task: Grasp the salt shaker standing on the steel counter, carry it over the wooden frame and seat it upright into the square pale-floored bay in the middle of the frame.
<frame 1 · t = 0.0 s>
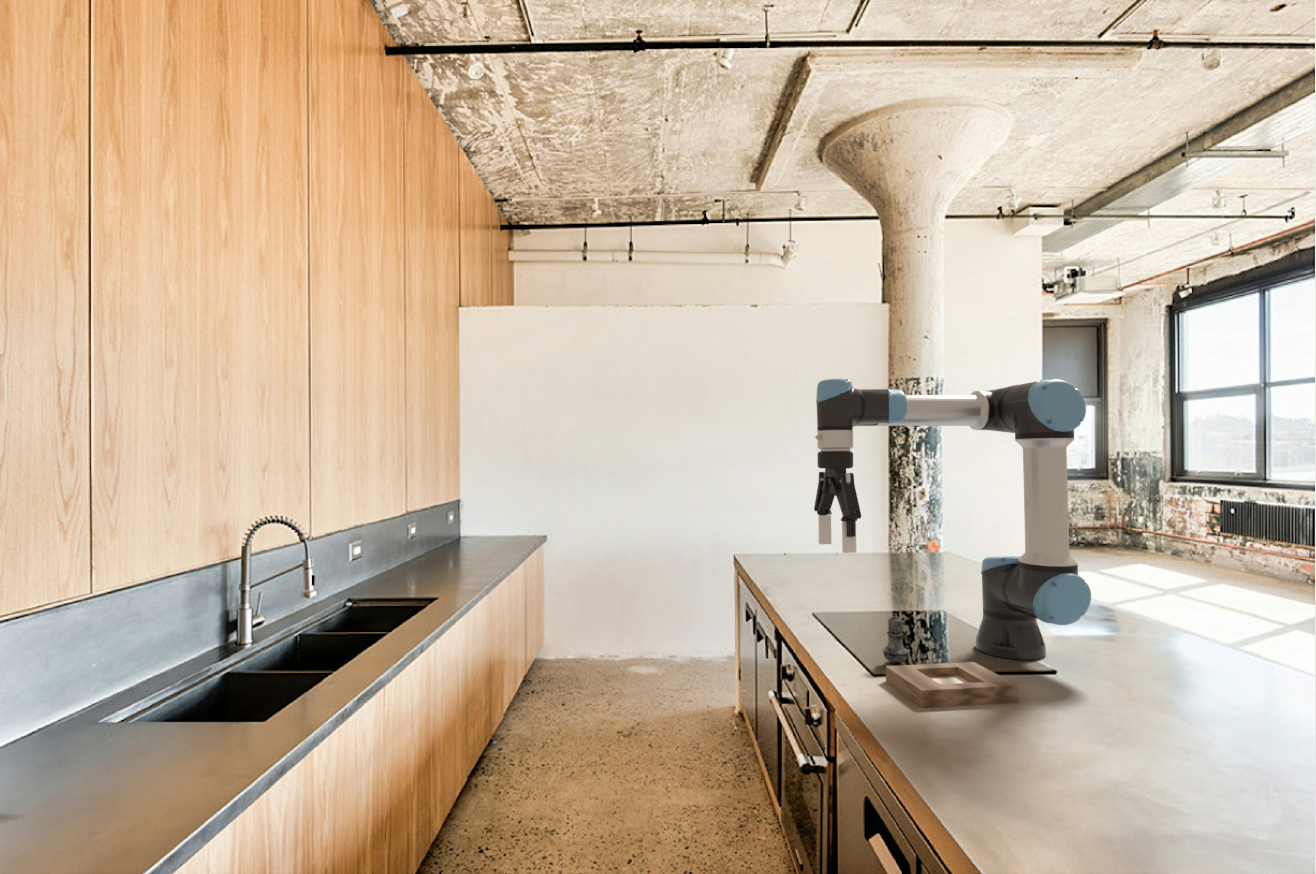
hand: (836, 548, 144), 28 cm above the countertop, fingers open, 13 cm apart
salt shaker: (895, 666, 151), on the countertop
wooden frame: (949, 691, 134), on the countertop
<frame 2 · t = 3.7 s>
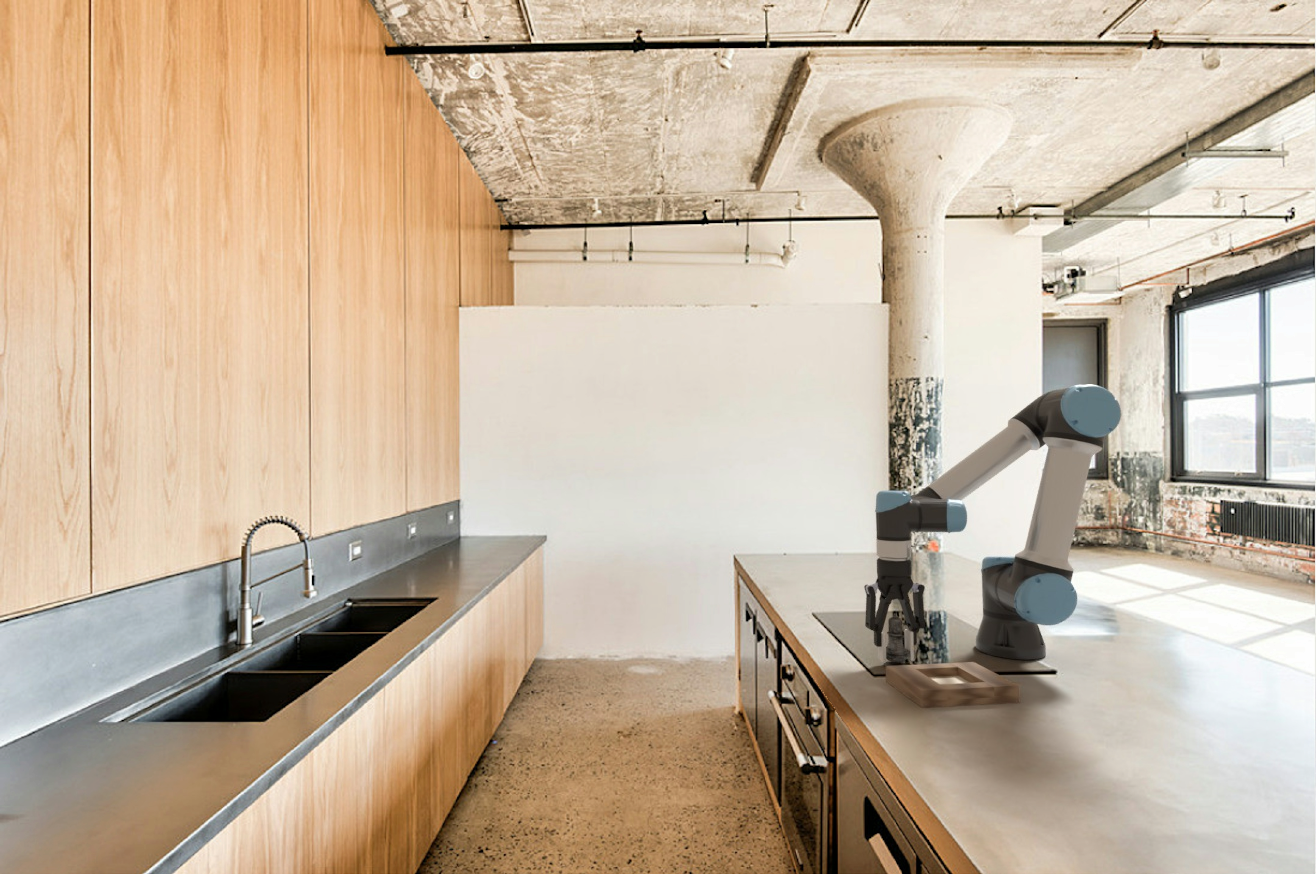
hand: (895, 659, 151), 1 cm above the countertop, fingers closed on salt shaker, 6 cm apart
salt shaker: (895, 666, 151), on the countertop, touching gripper
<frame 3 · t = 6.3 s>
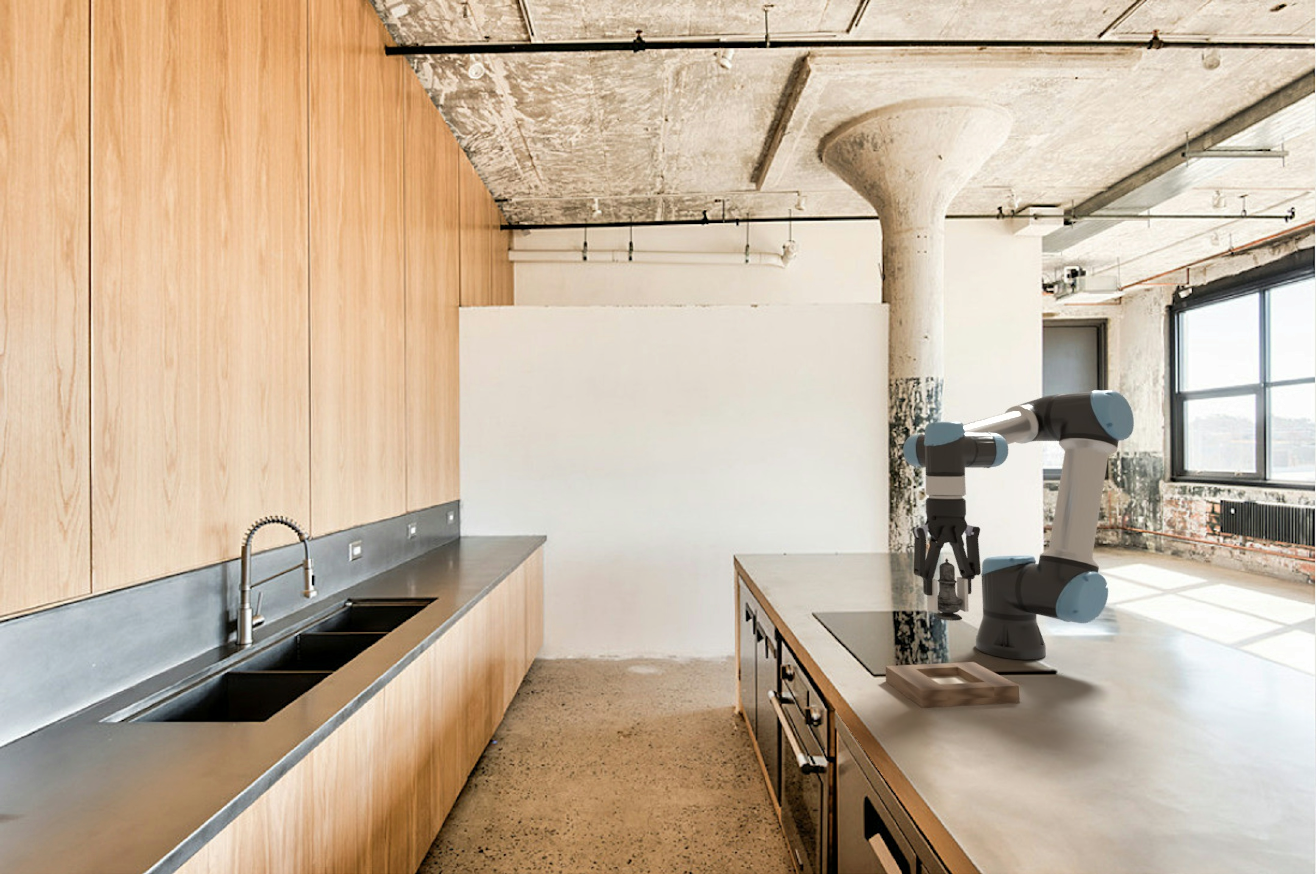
hand: (947, 610, 135), 16 cm above the countertop, fingers closed on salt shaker, 6 cm apart
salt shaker: (947, 618, 135), point 15 cm above the countertop, touching gripper
when the fingers open (4 cm above the countertop, at t = 9.1 s): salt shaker drops 1 cm, resting on wooden frame.
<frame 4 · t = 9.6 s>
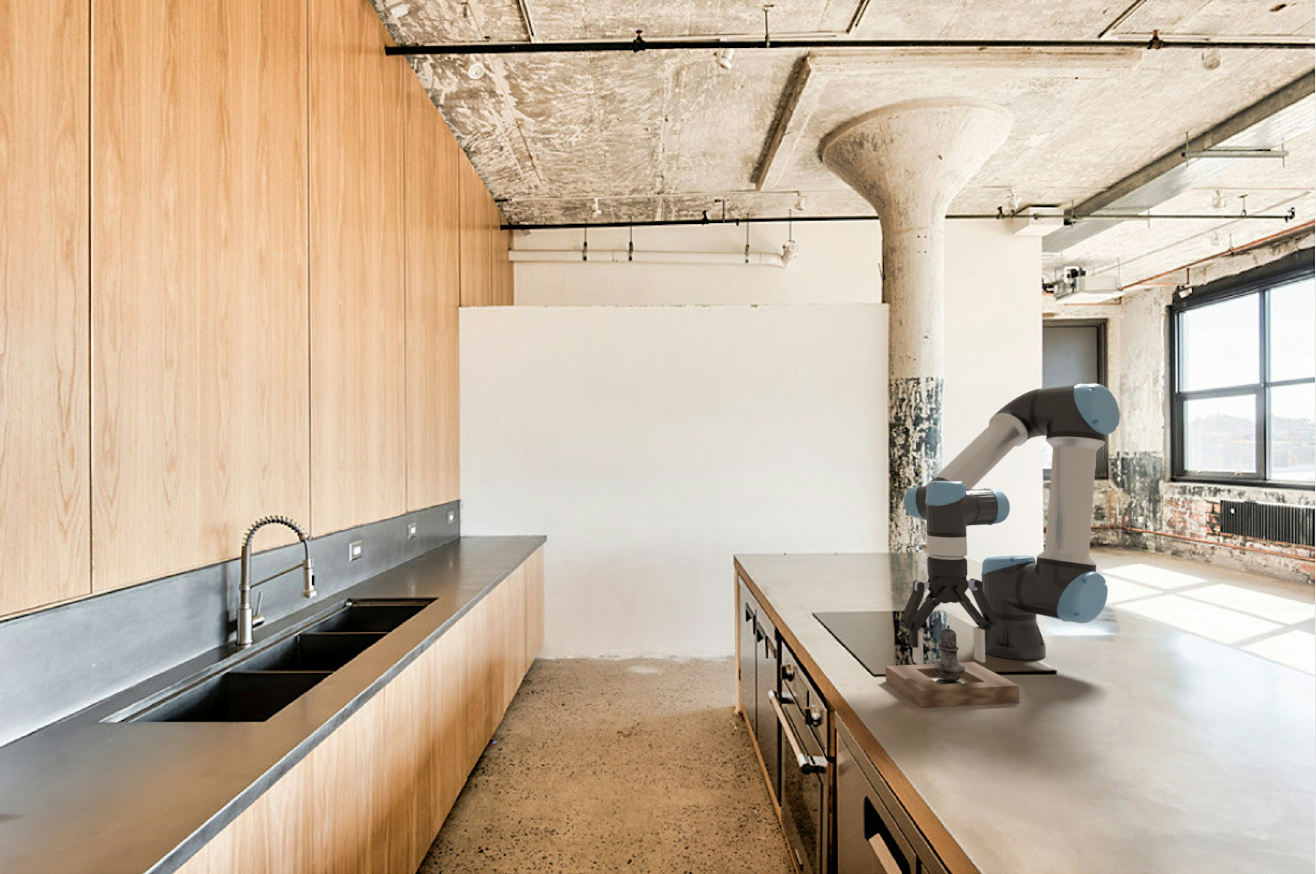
hand: (949, 662, 135), 6 cm above the countertop, fingers open, 13 cm apart
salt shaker: (949, 684, 134), point 1 cm above the countertop, touching wooden frame
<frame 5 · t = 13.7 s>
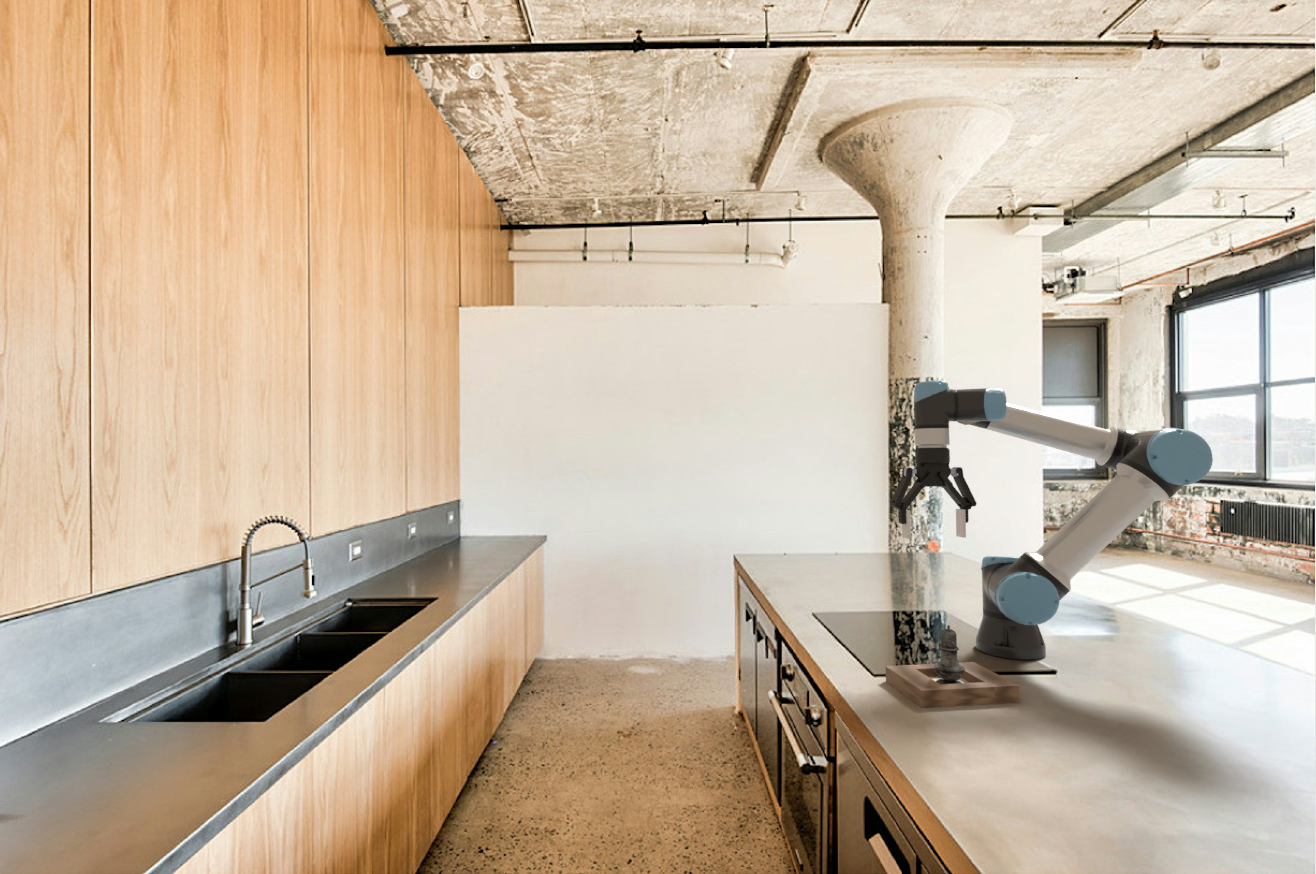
hand: (933, 537, 155), 29 cm above the countertop, fingers open, 13 cm apart
nothing on the countertop moved.
at the end: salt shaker 0.1 cm off-centre on the wooden frame, point 1.2 cm above the wooden frame's base; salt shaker tilted 0°; the gripper is holding nothing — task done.
